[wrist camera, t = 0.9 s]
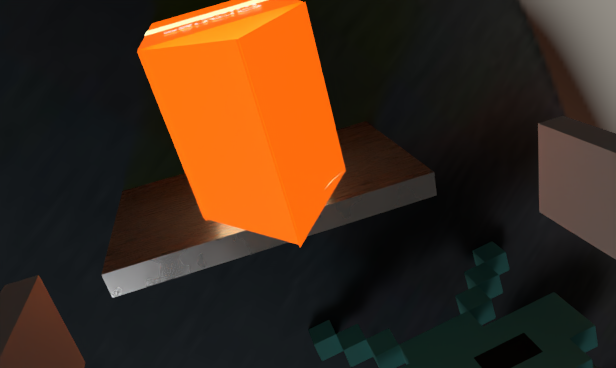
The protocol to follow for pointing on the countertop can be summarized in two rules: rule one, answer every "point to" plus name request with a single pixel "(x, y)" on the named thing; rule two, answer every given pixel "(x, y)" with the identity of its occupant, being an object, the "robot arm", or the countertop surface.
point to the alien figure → (477, 331)
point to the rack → (238, 242)
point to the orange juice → (248, 113)
